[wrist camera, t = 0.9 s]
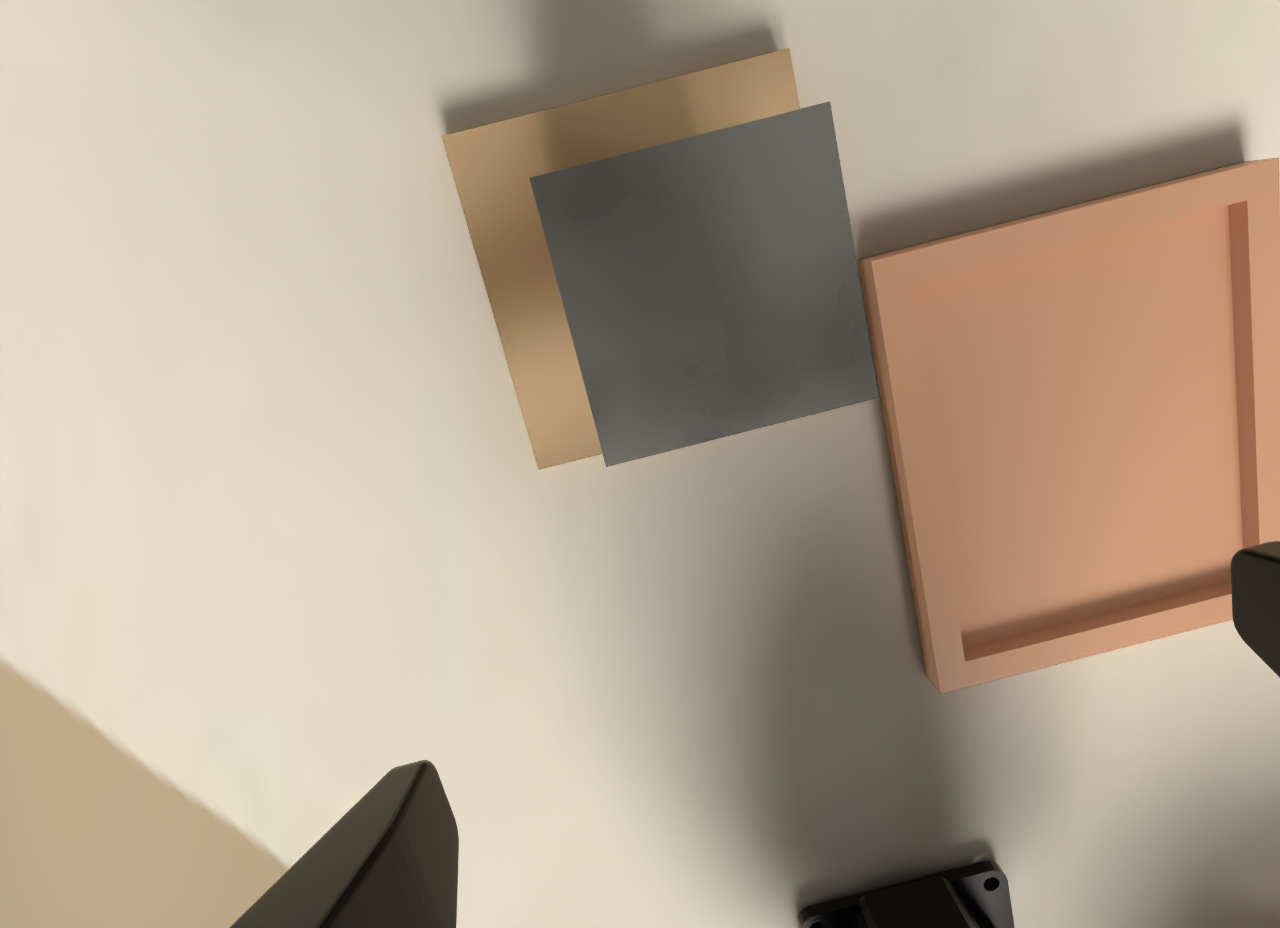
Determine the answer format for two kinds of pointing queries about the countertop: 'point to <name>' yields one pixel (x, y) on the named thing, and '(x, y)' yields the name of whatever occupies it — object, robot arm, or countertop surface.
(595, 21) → the countertop surface
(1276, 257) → the tray
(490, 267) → the stud base
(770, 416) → the strut
